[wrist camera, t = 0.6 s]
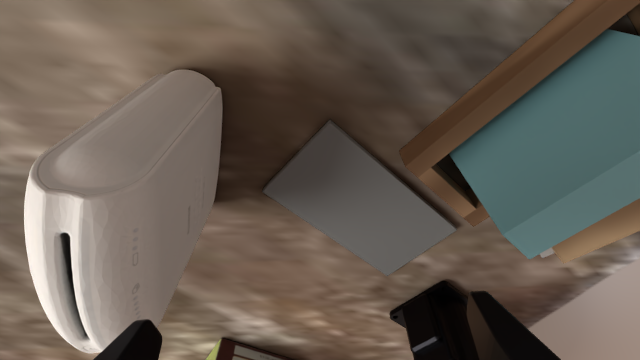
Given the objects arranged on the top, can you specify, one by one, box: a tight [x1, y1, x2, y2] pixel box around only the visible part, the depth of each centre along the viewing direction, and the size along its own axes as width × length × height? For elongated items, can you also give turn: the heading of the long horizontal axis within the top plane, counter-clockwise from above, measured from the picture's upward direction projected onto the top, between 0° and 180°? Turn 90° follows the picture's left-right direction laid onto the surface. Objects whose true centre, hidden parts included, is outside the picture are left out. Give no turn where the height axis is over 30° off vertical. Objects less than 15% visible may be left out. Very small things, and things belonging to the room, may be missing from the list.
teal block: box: [449, 29, 640, 259], centre depth 17 cm, size 2×10×8 cm, turn 138°
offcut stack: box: [540, 198, 640, 264], centre depth 22 cm, size 5×11×3 cm, turn 131°
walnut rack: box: [399, 0, 640, 227], centre depth 19 cm, size 7×14×2 cm, turn 138°
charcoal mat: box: [262, 120, 457, 276], centre depth 24 cm, size 13×7×1 cm, turn 48°
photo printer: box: [24, 70, 223, 354], centre depth 16 cm, size 10×4×12 cm, turn 166°
